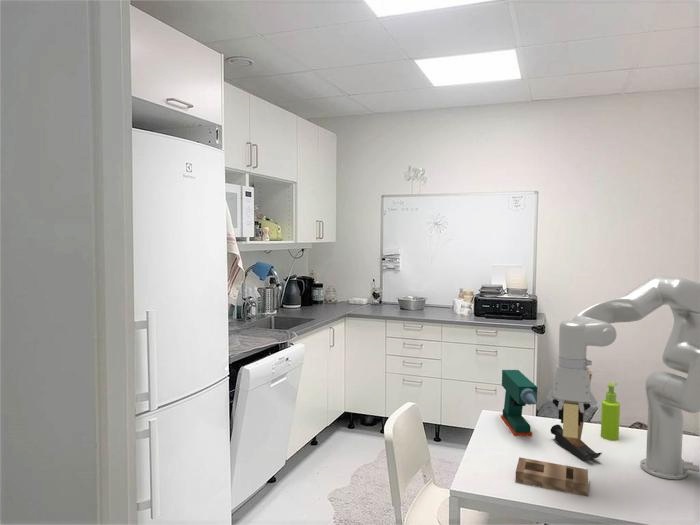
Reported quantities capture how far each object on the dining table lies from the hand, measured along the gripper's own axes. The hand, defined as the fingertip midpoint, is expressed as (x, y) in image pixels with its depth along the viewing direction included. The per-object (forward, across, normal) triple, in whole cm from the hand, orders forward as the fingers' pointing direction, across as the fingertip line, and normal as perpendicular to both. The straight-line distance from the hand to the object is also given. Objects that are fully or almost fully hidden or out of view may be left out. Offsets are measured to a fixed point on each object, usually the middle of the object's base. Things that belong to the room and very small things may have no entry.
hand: (570, 422), depth 151 cm
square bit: (+4, 0, 0) cm, 4 cm away
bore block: (+19, +5, 0) cm, 20 cm away
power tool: (+19, +17, -34) cm, 43 cm away
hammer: (+20, -1, -26) cm, 32 cm away
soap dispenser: (+19, -13, -44) cm, 50 cm away
